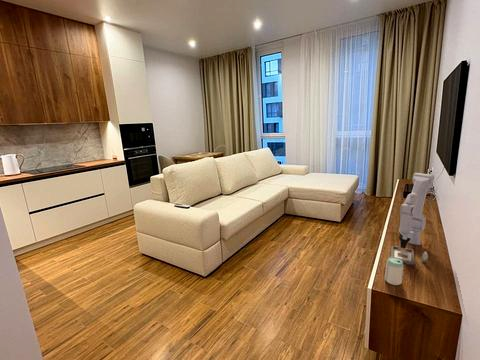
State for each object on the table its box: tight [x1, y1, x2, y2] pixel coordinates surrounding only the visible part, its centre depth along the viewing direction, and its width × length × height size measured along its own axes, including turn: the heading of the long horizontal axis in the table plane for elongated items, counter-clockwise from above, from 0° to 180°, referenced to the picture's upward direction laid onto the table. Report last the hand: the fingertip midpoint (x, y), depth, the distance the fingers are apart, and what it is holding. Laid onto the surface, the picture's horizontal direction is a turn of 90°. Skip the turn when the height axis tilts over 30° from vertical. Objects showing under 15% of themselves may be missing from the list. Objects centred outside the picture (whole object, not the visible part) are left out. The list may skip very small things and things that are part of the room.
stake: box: [421, 251, 429, 264], centre depth 140 cm, size 4×2×6 cm, turn 149°
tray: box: [390, 245, 416, 266], centre depth 147 cm, size 16×11×2 cm
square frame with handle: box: [394, 241, 411, 262], centre depth 146 cm, size 12×8×6 cm
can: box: [384, 256, 404, 286], centre depth 125 cm, size 7×7×12 cm
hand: (402, 245), depth 150 cm, fingers open, 6 cm apart
